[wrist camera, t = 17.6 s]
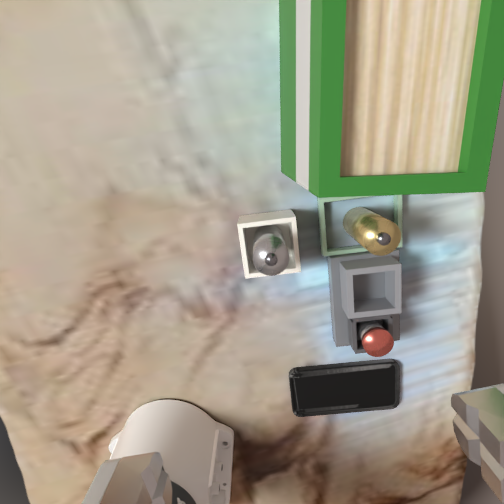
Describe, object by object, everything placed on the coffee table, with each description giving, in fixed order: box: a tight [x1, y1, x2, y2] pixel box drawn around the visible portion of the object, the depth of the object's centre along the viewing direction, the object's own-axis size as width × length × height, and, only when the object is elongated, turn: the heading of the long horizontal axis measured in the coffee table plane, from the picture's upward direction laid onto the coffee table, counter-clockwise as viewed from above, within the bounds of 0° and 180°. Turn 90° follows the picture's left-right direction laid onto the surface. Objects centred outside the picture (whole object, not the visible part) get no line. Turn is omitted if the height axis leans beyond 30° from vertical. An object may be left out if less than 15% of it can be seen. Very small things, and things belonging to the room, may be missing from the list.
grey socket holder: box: [327, 249, 402, 354], centre depth 39 cm, size 12×8×5 cm, turn 8°
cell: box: [343, 207, 401, 256], centre depth 35 cm, size 4×4×9 cm
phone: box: [289, 359, 400, 417], centre depth 46 cm, size 8×1×15 cm
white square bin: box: [237, 209, 301, 278], centre depth 38 cm, size 6×6×5 cm
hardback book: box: [279, 0, 504, 198], centre depth 24 cm, size 18×7×24 cm, turn 2°
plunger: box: [357, 320, 394, 357], centre depth 39 cm, size 3×3×3 cm
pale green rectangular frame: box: [317, 195, 402, 256], centre depth 39 cm, size 7×9×1 cm
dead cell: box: [253, 224, 289, 276], centre depth 35 cm, size 4×4×9 cm
